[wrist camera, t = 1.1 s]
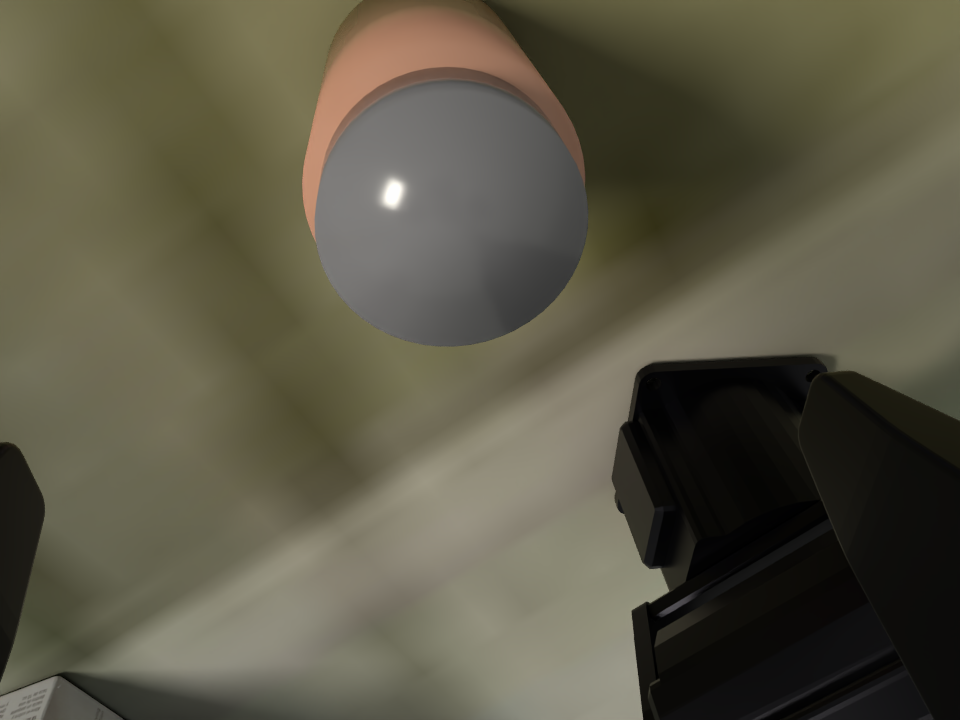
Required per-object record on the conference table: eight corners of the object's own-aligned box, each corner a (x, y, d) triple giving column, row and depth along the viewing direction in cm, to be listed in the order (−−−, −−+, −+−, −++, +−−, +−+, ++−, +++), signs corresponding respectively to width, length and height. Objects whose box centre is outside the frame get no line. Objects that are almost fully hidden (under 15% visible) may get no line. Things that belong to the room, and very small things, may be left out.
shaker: (527, -20, 18) (625, 69, 11) (517, 181, 21) (589, 354, 14) (314, -21, 17) (275, 71, 10) (333, 185, 20) (312, 366, 13)
